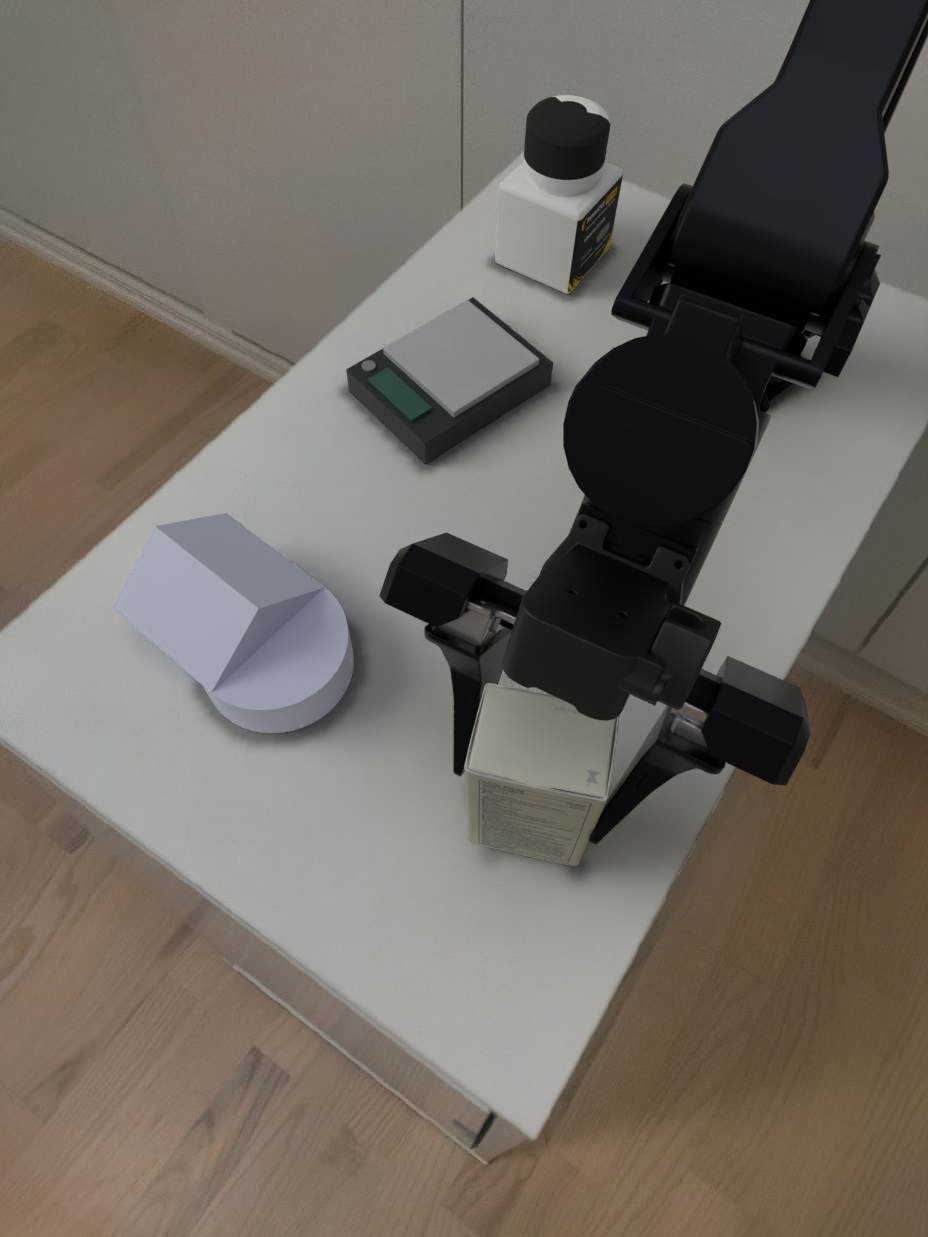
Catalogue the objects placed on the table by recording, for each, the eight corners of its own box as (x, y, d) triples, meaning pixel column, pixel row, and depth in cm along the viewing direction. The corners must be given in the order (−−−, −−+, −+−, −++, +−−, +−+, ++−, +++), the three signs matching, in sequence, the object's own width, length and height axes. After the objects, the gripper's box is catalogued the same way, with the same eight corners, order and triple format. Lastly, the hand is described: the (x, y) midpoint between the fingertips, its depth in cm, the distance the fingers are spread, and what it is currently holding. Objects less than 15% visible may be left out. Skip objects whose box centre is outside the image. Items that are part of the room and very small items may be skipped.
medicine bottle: (568, 297, 70) (589, 153, 59) (493, 263, 71) (500, 118, 61) (610, 248, 73) (637, 103, 62) (537, 217, 74) (551, 71, 64)
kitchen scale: (472, 319, 68) (473, 289, 66) (550, 384, 65) (554, 356, 62) (348, 391, 64) (344, 362, 62) (425, 464, 61) (424, 437, 58)
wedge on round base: (130, 635, 54) (278, 763, 50) (91, 577, 48) (255, 716, 44) (237, 543, 57) (384, 656, 53) (213, 478, 52) (376, 599, 48)
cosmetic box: (590, 793, 48) (627, 706, 38) (577, 872, 46) (612, 804, 36) (479, 768, 49) (485, 676, 38) (461, 845, 47) (462, 770, 36)
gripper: (385, 415, 31) (269, 780, 36) (910, 631, 27) (698, 1011, 32) (480, 418, 41) (380, 701, 46) (870, 574, 37) (715, 868, 42)
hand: (524, 805), depth 41 cm, fingers closed on cosmetic box, 7 cm apart
